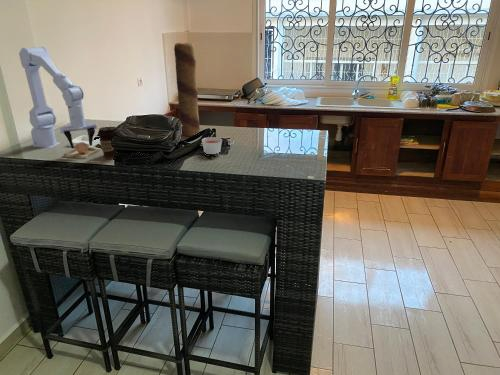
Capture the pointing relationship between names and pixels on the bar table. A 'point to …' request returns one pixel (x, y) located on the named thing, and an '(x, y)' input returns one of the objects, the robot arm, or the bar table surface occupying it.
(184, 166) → the bar table surface
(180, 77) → the wafer roll
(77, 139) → the dish
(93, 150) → the tray
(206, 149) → the candle
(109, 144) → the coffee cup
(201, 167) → the bar table surface
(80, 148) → the ball
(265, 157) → the bar table surface
